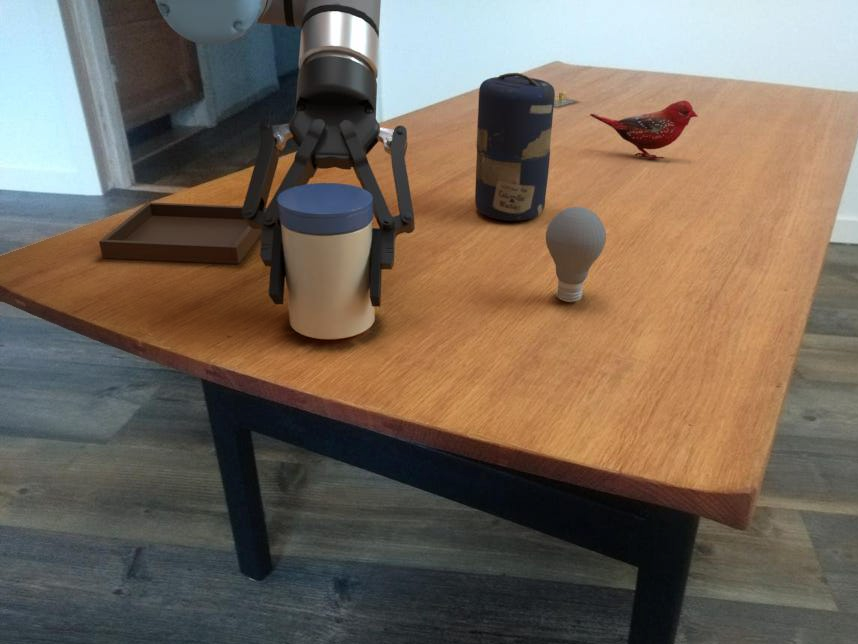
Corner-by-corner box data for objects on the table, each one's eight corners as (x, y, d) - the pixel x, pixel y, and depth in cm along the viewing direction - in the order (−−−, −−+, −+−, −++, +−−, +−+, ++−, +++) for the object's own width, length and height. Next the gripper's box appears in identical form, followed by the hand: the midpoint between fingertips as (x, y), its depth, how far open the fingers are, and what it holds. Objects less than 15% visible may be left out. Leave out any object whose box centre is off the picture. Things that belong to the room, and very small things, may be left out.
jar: (280, 337, 68) (267, 216, 62) (300, 298, 75) (291, 186, 69) (368, 341, 68) (364, 221, 62) (380, 302, 75) (377, 190, 69)
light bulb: (552, 283, 82) (561, 194, 77) (605, 295, 80) (617, 205, 75) (531, 304, 77) (539, 211, 72) (586, 318, 75) (598, 223, 70)
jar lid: (267, 231, 63) (264, 210, 62) (290, 199, 70) (289, 180, 69) (365, 236, 63) (364, 216, 62) (379, 204, 70) (378, 185, 69)
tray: (102, 258, 83) (98, 241, 82) (150, 217, 95) (147, 202, 94) (238, 264, 83) (236, 247, 82) (270, 222, 95) (268, 207, 94)
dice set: (534, 100, 164) (535, 91, 163) (548, 97, 167) (549, 88, 167) (553, 104, 161) (554, 95, 160) (567, 101, 165) (567, 92, 164)
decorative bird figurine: (688, 166, 124) (699, 103, 119) (583, 152, 129) (590, 92, 124) (690, 161, 126) (701, 100, 121) (587, 148, 131) (594, 89, 126)
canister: (510, 197, 107) (518, 63, 98) (559, 215, 101) (572, 75, 92) (459, 210, 101) (463, 70, 92) (508, 231, 95) (517, 83, 86)
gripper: (445, 103, 76) (442, 315, 71) (237, 95, 75) (218, 310, 70) (447, 56, 69) (443, 289, 64) (217, 46, 68) (193, 283, 62)
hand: (325, 300), depth 67 cm, fingers closed on jar, 8 cm apart
